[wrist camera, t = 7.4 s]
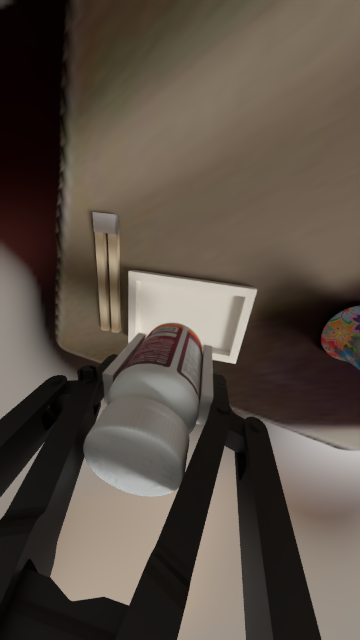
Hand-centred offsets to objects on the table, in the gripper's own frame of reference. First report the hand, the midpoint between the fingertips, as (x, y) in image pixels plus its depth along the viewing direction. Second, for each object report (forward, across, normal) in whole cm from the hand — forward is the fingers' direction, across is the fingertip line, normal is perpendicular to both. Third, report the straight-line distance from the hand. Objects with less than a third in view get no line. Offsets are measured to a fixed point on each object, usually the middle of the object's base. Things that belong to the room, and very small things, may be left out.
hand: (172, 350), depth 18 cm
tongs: (+11, -13, +4) cm, 17 cm away
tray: (+11, 0, 0) cm, 11 cm away
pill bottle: (+1, 0, 0) cm, 1 cm away
